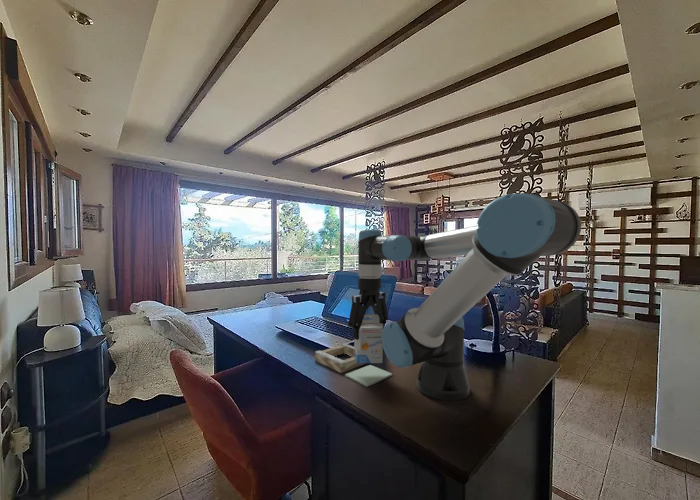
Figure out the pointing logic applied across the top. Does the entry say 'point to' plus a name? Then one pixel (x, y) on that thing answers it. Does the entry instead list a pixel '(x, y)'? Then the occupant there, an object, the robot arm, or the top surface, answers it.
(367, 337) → the ink box
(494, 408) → the top surface
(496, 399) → the top surface
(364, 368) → the mat
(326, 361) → the dispenser collar
